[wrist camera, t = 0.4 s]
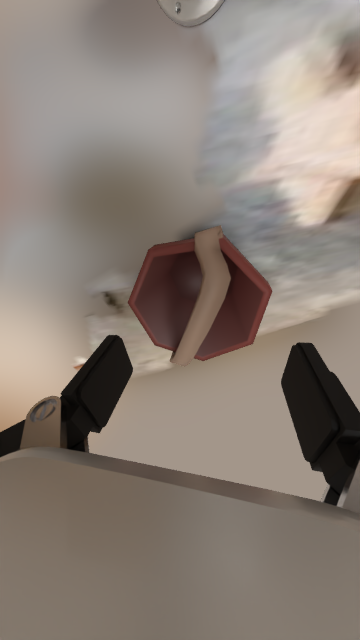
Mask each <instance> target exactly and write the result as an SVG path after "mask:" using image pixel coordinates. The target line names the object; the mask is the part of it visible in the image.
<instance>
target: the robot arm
mask: <svg viewBox="0 0 360 640" xmlns="http://www.w3.org/2000/svg"><path fill="white" fill-rule="evenodd" d="M157 2H158V3H159V5H160V7H161V9H162V10H163V11H164V13H165V14H166V15H167V16H168V17H169V18H170V19H171V20H173V21H174V22H175V23H177V24H180V25H183V26H194V25H197V24H201V23H202V22H204V21H205V20H207V19H209V18H210V17H211V16H212V15H213V14H214V13H215V12H216V11H217V10H218V9H219V7H220V6H221V4H222V3H223V2H224V0H157ZM178 11H180V13H179V14H178ZM132 372H133V367H132V364H131V362H130V359H129V356H128V354H127V351H126V348H125V346H124V343H123V340H122V338H120V337H119V336H118V335H108V336H107V337H106V338H105V339H104V341H103V342H102V343H101V344H100V346H99V347H98V348H97V349H96V350H95V352H94V353H93V354H92V355H91V357H90V358H89V359H88V360H87V361H86V363H85V364H84V365H83V366H82V368H81V369H80V370H79V371H78V373H77V374H76V375H75V376H74V378H73V379H72V380H71V381H70V382H69V384H68V385H67V386H66V387H65V389H64V390H63V391H62V393H61V395H62V396H61V397H60V398H59V397H57V396H50V397H47V398H44V399H42V400H41V401H39V402H38V403H36V404H35V405H34V406H33V407H32V408H31V409H30V411H29V413H28V414H27V416H26V419H25V420H23V421H21V422H19V423H17V424H16V425H13V426H11V427H10V428H8V429H6V430H4V431H2V432H0V640H360V412H359V411H358V409H357V407H356V406H355V404H354V403H353V401H352V400H351V398H350V396H349V395H348V393H347V392H346V390H345V389H344V387H343V385H342V384H341V382H340V381H339V379H338V378H337V376H336V375H335V374H334V373H333V372H330V371H329V370H328V368H327V366H326V365H325V363H324V362H323V360H322V358H321V357H320V355H319V353H318V351H317V350H316V348H315V347H314V345H313V344H312V343H297V344H296V345H293V346H292V348H291V351H290V355H289V358H288V361H287V364H286V367H285V370H284V373H283V377H282V380H281V385H282V388H283V392H284V395H285V398H286V401H287V405H288V408H289V411H290V414H291V418H292V421H293V423H294V427H295V430H296V433H297V437H298V440H299V443H300V446H301V449H302V453H303V455H304V458H305V460H306V461H308V462H310V465H311V468H312V470H314V471H320V472H323V474H324V477H325V480H326V482H327V483H328V485H327V487H326V489H325V492H324V494H323V496H322V498H321V501H316V500H312V499H307V498H303V497H299V496H294V495H290V494H285V493H281V492H277V491H272V490H268V489H263V488H258V487H253V486H248V485H244V484H239V483H234V482H229V481H225V480H219V479H215V478H210V477H206V476H201V475H195V474H191V473H186V472H181V471H176V470H171V469H166V468H162V467H157V466H151V465H146V464H141V463H137V462H132V461H127V460H122V459H116V458H112V457H107V456H102V455H97V454H92V453H89V445H88V434H89V432H90V431H91V432H96V433H100V431H101V429H102V428H103V427H105V426H106V424H107V422H108V420H109V418H110V416H111V414H112V412H113V410H114V408H115V406H116V404H117V402H118V400H119V398H120V396H121V394H122V392H123V390H124V388H125V386H126V385H127V383H128V380H129V379H130V377H131V375H132Z"/></svg>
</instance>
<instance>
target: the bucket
mask: <svg viewBox="0 0 360 640" xmlns="http://www.w3.org/2000/svg"><path fill="white" fill-rule="evenodd" d="M271 293H272V289H271V287H270V285H269V283H268V282H267V281H266V280H265V279H264V277H263V276H262V275H261V274H260V273H259V272H258V271H257V270H256V269H255V268H254V267H253V266H252V264H251V263H250V262H249V261H248V260H247V259H246V258H245V257H244V256H243V255H242V254H241V253H240V252H239V250H238V249H237V248H236V247H235V246H234V245H233V244H232V243H231V242H230V241H229V240H228V239H227V238H226V236H225V235H224V234H223V231H222V228H221V225H220V226H216V227H213V228H210V229H206V230H203V231H200V232H196V233H195V238H193V239H187V240H181V241H175V242H169V243H163V244H157V245H154V246H153V247H152V248H150V249H149V250H148V252H147V255H146V257H145V260H144V262H143V265H142V268H141V270H140V273H139V275H138V278H137V280H136V283H135V285H134V288H133V290H132V293H131V296H130V298H129V301H128V304H129V306H130V307H131V309H132V310H133V312H134V313H135V315H136V317H137V318H138V320H139V321H140V323H141V324H142V326H143V328H144V329H145V331H146V332H147V334H148V335H149V337H150V338H151V340H152V342H153V343H154V345H156V346H159V347H162V348H165V349H168V350H171V351H173V353H172V356H171V359H170V362H172V363H175V364H178V365H181V366H187V365H188V364H189V363H190V362H191V360H192V359H193V358H195V359H198V360H202V361H205V360H208V359H210V358H213V357H216V356H219V355H222V354H225V353H228V352H231V351H234V350H237V349H239V348H242V347H245V346H248V345H251V344H253V342H254V339H255V337H256V334H257V331H258V328H259V326H260V323H261V320H262V318H263V315H264V312H265V310H266V307H267V304H268V301H269V299H270V296H271Z"/></svg>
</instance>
